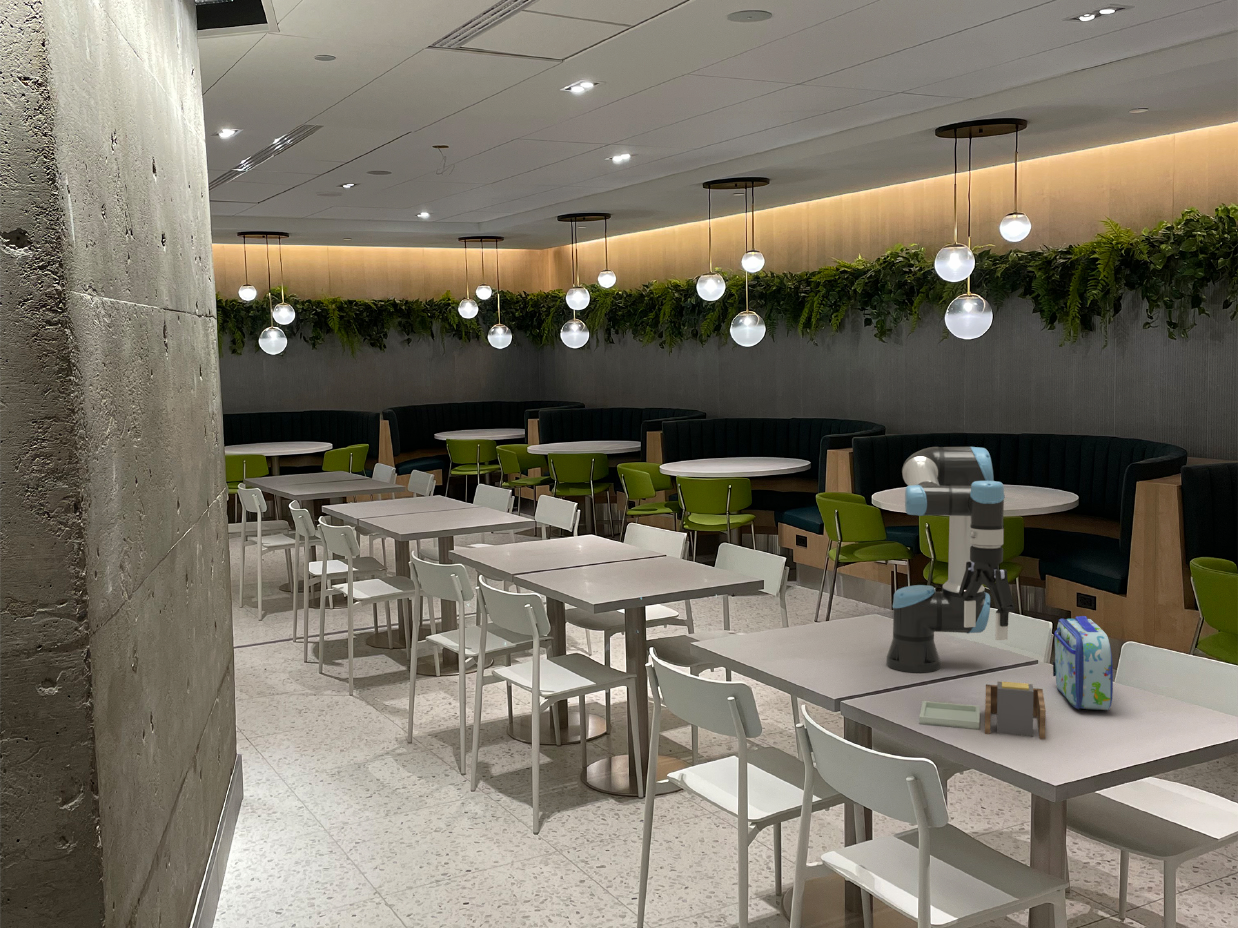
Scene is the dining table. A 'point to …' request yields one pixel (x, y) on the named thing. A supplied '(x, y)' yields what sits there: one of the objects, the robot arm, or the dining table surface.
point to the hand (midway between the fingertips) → (985, 633)
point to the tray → (950, 715)
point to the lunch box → (1083, 664)
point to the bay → (1038, 708)
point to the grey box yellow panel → (1015, 708)
